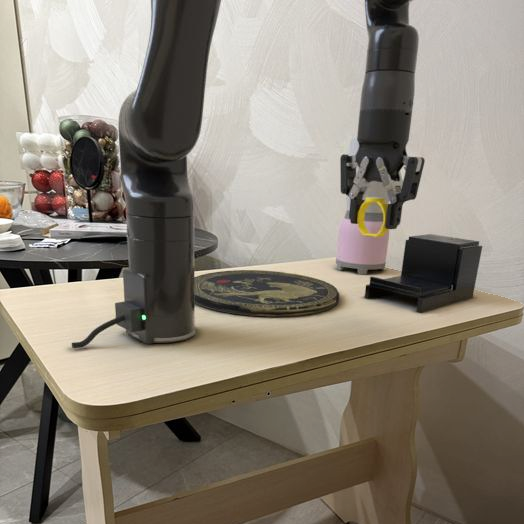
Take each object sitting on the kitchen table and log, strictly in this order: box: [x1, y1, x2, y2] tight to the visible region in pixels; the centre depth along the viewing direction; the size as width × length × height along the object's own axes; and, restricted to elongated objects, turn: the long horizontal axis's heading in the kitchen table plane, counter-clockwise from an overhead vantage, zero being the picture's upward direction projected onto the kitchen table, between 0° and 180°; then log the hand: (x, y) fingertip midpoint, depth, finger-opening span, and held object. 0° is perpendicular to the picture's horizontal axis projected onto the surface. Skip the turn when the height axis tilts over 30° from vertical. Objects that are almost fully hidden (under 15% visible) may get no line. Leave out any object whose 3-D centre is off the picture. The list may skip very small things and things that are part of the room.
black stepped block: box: [364, 233, 483, 314], centre depth 103 cm, size 20×13×11 cm, turn 132°
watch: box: [357, 197, 388, 237], centre depth 81 cm, size 6×3×6 cm, turn 34°
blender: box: [335, 135, 393, 275], centre depth 126 cm, size 16×12×32 cm
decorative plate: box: [194, 269, 340, 318], centre depth 101 cm, size 30×2×30 cm
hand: (373, 225), depth 82 cm, fingers closed on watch, 6 cm apart
